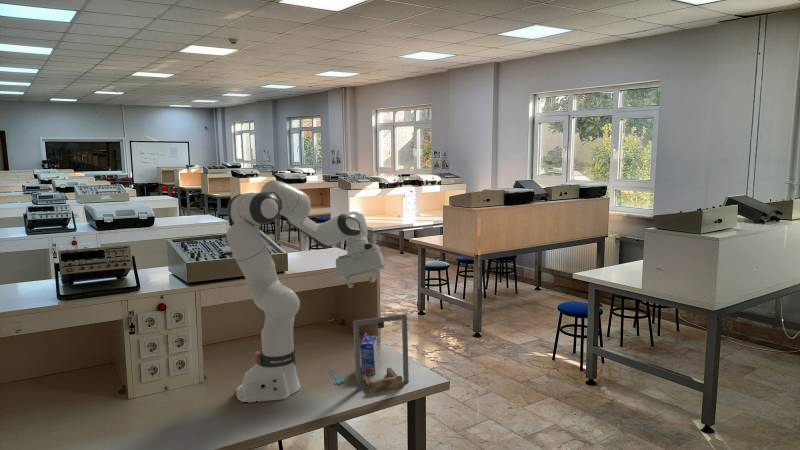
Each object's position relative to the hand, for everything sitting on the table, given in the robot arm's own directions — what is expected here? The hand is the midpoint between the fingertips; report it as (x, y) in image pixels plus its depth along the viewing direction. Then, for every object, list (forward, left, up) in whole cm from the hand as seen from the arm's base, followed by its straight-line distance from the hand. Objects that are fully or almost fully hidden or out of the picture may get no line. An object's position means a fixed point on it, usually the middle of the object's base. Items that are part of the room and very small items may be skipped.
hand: (361, 284), depth 215 cm
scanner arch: (+1, -21, -33) cm, 39 cm away
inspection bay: (+1, -18, -33) cm, 38 cm away
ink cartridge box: (+1, -5, -33) cm, 33 cm away
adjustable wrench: (-13, -7, -33) cm, 37 cm away
